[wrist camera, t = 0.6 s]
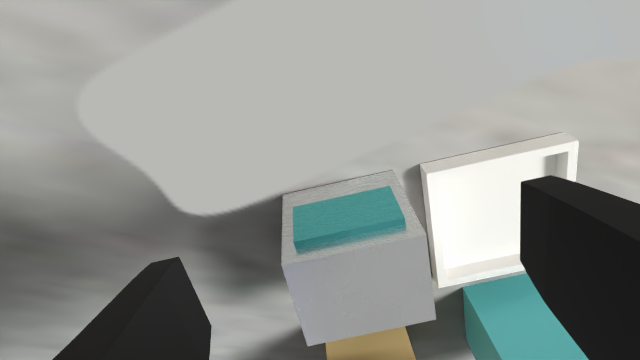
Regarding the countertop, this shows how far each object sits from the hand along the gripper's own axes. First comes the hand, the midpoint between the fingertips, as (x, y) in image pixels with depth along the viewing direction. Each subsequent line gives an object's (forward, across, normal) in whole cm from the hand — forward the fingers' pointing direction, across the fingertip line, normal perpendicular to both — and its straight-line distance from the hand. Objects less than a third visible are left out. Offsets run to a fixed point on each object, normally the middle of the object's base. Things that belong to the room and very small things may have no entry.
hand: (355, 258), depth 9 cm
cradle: (+9, -7, +6) cm, 13 cm away
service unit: (+9, 0, +5) cm, 11 cm away
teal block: (+9, -7, +13) cm, 17 cm away
